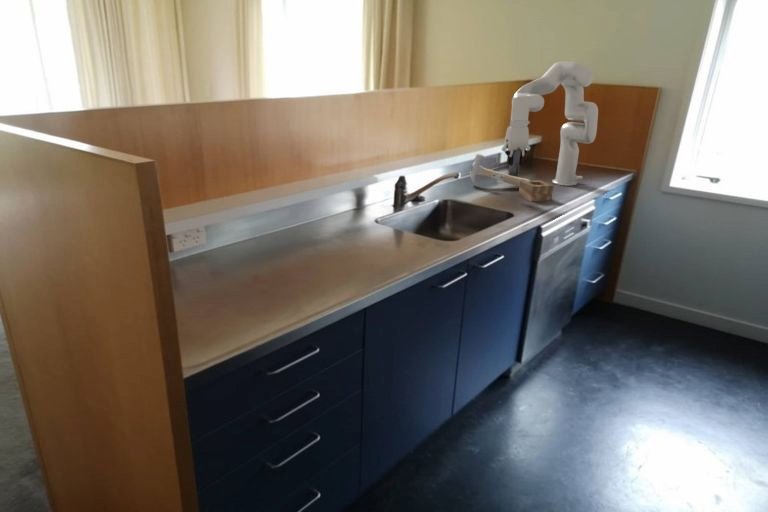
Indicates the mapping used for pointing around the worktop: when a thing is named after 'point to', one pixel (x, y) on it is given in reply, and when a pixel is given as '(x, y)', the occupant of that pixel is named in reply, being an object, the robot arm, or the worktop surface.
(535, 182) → the socket block
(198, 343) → the worktop surface
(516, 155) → the dark grey capped cylinder
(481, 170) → the hammer
